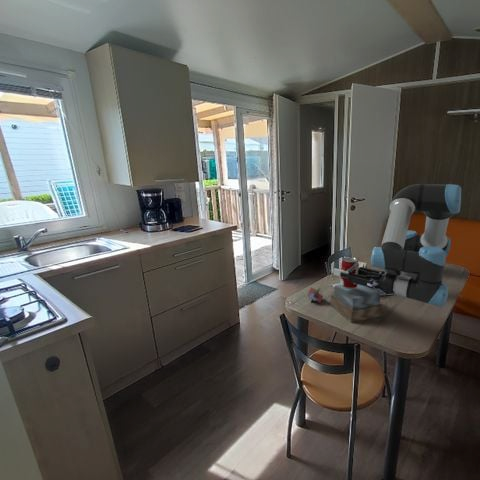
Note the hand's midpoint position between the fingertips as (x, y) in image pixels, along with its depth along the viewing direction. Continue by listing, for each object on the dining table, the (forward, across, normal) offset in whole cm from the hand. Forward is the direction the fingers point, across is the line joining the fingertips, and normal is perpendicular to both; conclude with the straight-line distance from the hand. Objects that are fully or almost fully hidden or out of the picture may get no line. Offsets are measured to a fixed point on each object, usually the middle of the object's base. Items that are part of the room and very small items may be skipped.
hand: (337, 269), depth 122 cm
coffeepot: (-19, +35, -19) cm, 44 cm away
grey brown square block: (-7, +5, -19) cm, 21 cm away
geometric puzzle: (+10, +1, -19) cm, 22 cm away
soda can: (-5, +1, -7) cm, 8 cm away
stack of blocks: (+3, +30, -19) cm, 35 cm away
